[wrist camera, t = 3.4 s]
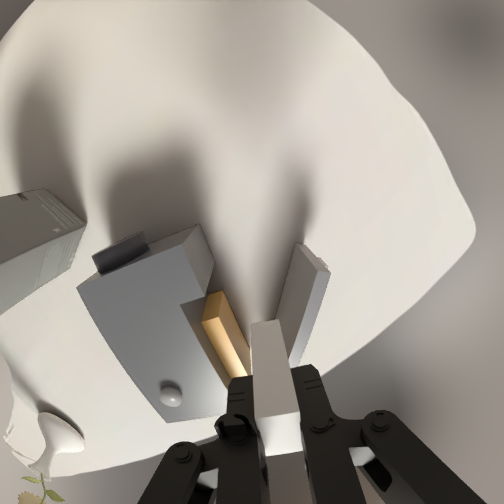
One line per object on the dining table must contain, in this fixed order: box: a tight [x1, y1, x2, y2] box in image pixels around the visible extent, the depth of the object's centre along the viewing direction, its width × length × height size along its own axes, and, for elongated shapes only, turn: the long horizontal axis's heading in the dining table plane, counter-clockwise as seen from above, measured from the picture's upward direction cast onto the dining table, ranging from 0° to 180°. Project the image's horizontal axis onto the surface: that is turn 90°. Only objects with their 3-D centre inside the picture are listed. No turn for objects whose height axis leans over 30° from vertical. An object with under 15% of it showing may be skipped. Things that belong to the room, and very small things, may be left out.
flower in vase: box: [18, 412, 85, 504], centre depth 23 cm, size 13×11×25 cm
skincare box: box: [0, 189, 87, 315], centre depth 17 cm, size 8×7×16 cm
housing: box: [76, 224, 251, 423], centre depth 23 cm, size 18×12×9 cm, turn 20°
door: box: [275, 243, 331, 368], centre depth 23 cm, size 12×2×8 cm, turn 168°
